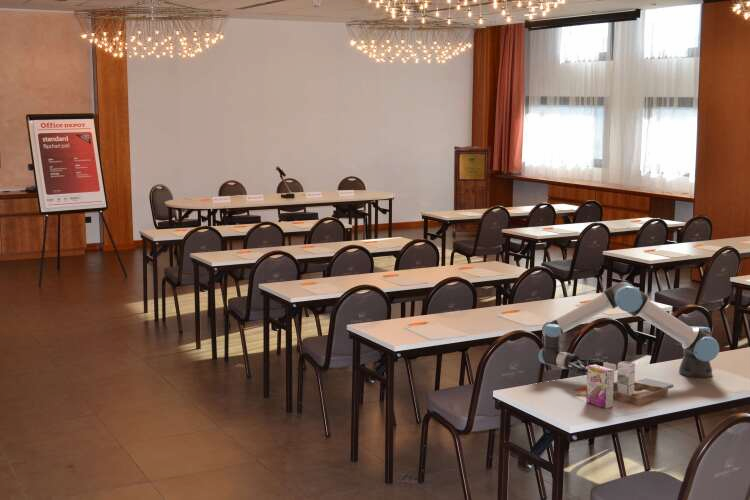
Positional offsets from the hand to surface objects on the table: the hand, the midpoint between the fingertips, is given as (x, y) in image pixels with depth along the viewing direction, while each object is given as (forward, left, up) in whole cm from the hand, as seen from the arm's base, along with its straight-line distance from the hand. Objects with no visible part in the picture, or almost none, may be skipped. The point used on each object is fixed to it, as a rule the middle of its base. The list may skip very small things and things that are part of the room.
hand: (607, 370), depth 411 cm
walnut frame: (-10, +8, -9) cm, 16 cm away
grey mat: (-21, -10, -9) cm, 25 cm away
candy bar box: (+6, +24, -9) cm, 27 cm away
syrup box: (-7, +6, -9) cm, 14 cm away
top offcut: (-14, +12, -8) cm, 20 cm away
